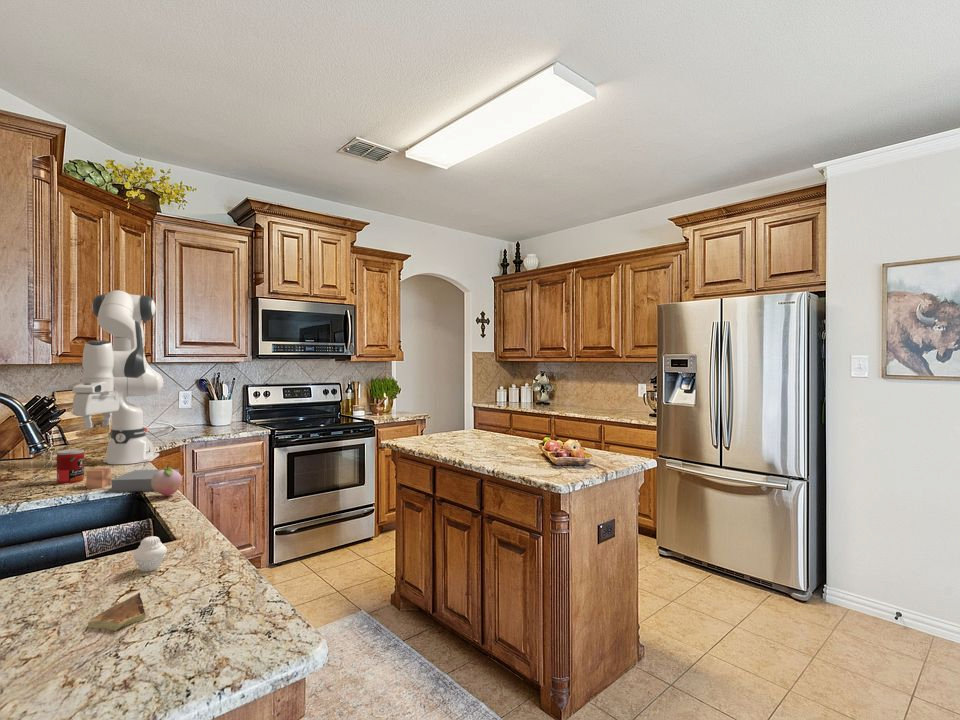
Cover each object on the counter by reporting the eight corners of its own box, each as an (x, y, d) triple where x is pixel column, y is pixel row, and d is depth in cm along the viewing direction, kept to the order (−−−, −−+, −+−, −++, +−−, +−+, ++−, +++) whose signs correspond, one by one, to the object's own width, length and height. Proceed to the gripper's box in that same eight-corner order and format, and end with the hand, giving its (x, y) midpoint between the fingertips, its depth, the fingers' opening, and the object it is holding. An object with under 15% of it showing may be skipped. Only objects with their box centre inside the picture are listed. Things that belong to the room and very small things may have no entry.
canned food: (72, 484, 181) (72, 453, 181) (50, 483, 181) (50, 452, 181) (89, 479, 189) (89, 449, 189) (68, 478, 189) (68, 448, 189)
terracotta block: (94, 485, 180) (94, 468, 180) (110, 484, 181) (110, 467, 181) (86, 488, 175) (86, 471, 175) (102, 488, 176) (102, 470, 176)
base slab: (134, 481, 186) (134, 470, 186) (179, 480, 188) (179, 469, 188) (111, 491, 171) (111, 479, 171) (160, 490, 173) (160, 478, 173)
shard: (139, 600, 97) (139, 590, 97) (174, 604, 95) (174, 594, 95) (85, 629, 86) (85, 619, 86) (124, 634, 85) (124, 623, 85)
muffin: (125, 573, 107) (125, 540, 107) (148, 562, 113) (148, 530, 113) (152, 575, 106) (152, 542, 106) (173, 564, 112) (174, 532, 112)
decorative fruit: (147, 496, 166) (148, 465, 166) (176, 491, 172) (176, 462, 172) (155, 502, 160) (155, 470, 160) (184, 497, 165) (185, 466, 165)
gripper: (106, 385, 188) (105, 423, 188) (68, 388, 168) (68, 430, 168) (124, 385, 189) (124, 423, 189) (89, 387, 169) (89, 429, 169)
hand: (97, 426), depth 178 cm, fingers open, 8 cm apart
